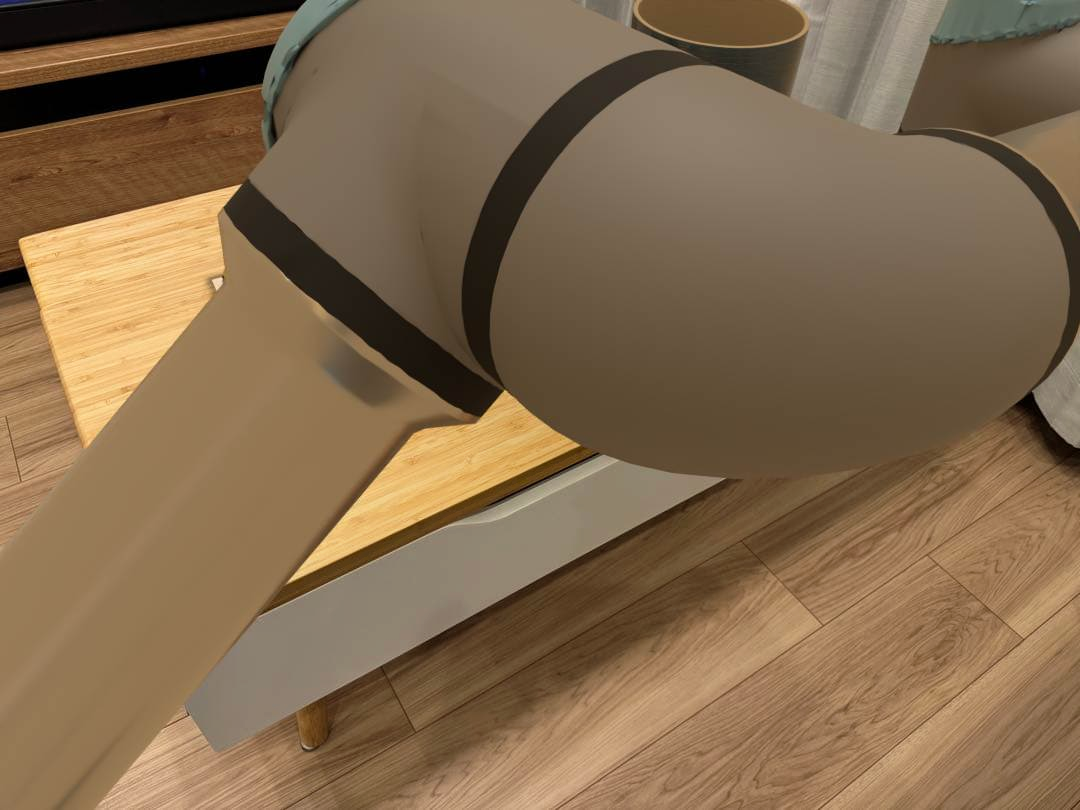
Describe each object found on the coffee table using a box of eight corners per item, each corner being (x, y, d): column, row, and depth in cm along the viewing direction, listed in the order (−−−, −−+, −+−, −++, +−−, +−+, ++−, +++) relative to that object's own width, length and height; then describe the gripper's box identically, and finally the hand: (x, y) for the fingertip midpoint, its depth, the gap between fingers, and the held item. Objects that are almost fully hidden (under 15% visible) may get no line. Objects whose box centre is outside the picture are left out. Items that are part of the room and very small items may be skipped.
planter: (750, 124, 121) (783, -16, 107) (789, 200, 106) (833, 48, 91) (609, 124, 120) (622, -18, 105) (628, 201, 104) (646, 47, 90)
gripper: (798, 341, 51) (480, 310, 53) (766, 158, 69) (528, 138, 70) (831, 244, 46) (477, 213, 47) (787, 72, 63) (529, 53, 65)
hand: (507, 168), depth 59 cm, fingers open, 13 cm apart
